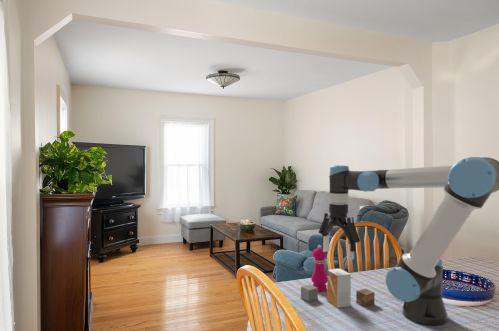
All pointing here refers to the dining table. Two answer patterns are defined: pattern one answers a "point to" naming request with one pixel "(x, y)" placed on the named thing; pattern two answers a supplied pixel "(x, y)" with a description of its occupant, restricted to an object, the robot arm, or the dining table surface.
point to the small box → (339, 287)
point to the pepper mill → (319, 269)
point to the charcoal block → (309, 293)
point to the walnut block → (365, 297)
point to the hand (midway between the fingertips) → (338, 255)
